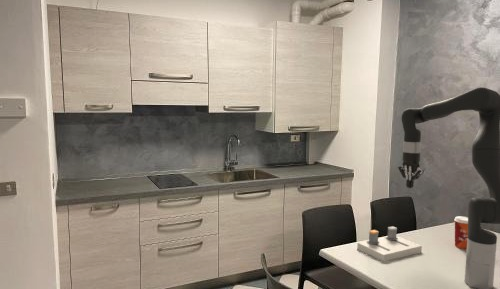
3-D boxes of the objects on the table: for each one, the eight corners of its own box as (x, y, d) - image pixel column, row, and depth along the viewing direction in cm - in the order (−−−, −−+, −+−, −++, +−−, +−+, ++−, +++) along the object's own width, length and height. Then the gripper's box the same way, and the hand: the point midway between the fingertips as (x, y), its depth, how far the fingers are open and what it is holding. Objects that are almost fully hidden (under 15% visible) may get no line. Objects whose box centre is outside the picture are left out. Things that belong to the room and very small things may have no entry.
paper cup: (461, 250, 172) (463, 221, 170) (448, 244, 179) (450, 216, 178) (474, 248, 174) (476, 220, 172) (461, 242, 181) (463, 215, 180)
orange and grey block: (372, 244, 169) (372, 232, 169) (367, 242, 172) (367, 230, 172) (379, 243, 171) (379, 231, 171) (374, 240, 174) (374, 229, 173)
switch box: (383, 261, 159) (383, 254, 158) (357, 248, 173) (357, 242, 173) (421, 252, 169) (421, 245, 169) (393, 240, 184) (394, 234, 183)
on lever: (391, 240, 175) (391, 229, 174) (385, 238, 177) (386, 227, 177) (397, 239, 177) (398, 227, 176) (392, 237, 179) (393, 225, 179)
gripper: (429, 152, 166) (427, 189, 168) (405, 149, 178) (403, 184, 180) (418, 153, 163) (416, 191, 165) (394, 150, 175) (392, 185, 176)
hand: (409, 187), depth 172 cm, fingers closed
